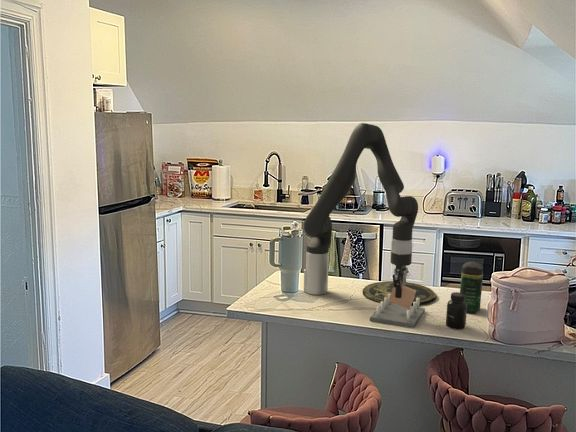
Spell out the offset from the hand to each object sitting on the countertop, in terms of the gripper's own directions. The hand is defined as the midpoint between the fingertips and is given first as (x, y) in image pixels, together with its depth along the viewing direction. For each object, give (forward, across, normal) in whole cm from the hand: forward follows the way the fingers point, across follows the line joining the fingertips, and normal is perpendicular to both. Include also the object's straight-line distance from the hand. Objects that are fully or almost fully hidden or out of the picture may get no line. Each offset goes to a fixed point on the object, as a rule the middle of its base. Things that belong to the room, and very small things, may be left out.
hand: (399, 296), depth 221 cm
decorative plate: (+8, -26, -6) cm, 28 cm away
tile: (+3, 0, 0) cm, 3 cm away
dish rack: (+8, 0, 0) cm, 8 cm away
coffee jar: (+8, -20, +23) cm, 31 cm away
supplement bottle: (+8, +1, +21) cm, 22 cm away
